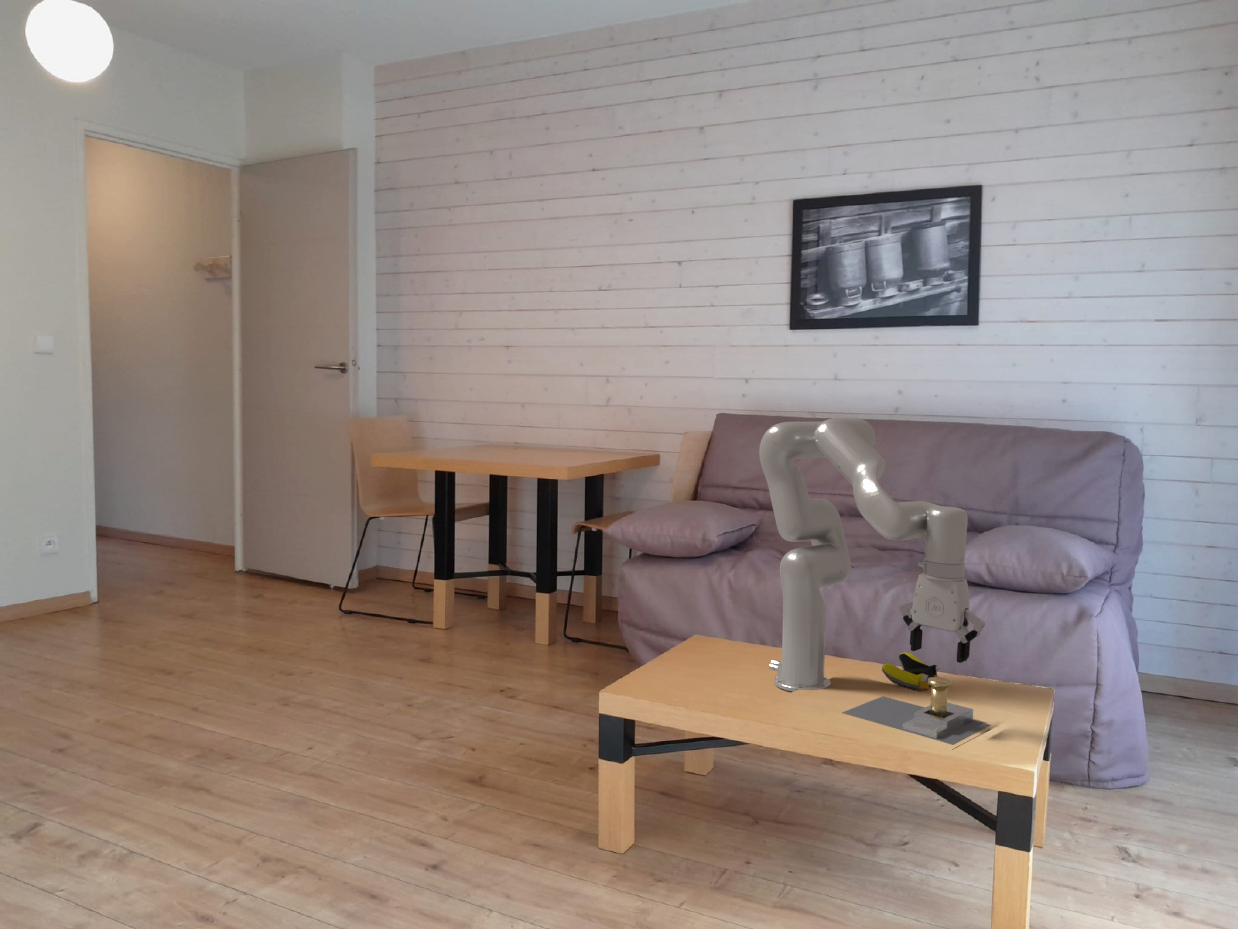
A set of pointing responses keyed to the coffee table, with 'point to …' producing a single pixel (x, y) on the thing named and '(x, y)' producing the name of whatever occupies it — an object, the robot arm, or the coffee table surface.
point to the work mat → (908, 718)
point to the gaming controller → (910, 672)
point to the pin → (939, 696)
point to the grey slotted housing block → (939, 721)
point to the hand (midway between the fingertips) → (938, 655)
